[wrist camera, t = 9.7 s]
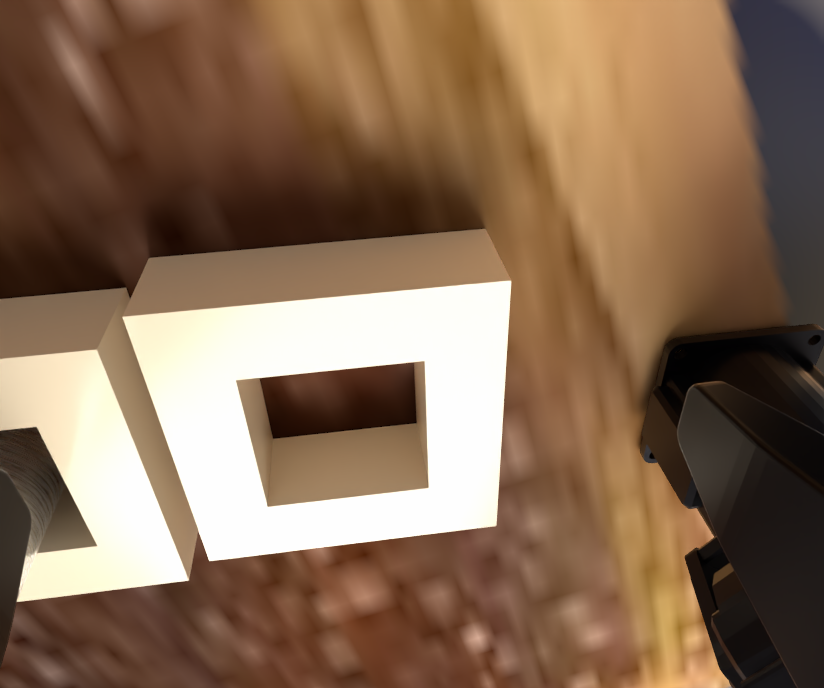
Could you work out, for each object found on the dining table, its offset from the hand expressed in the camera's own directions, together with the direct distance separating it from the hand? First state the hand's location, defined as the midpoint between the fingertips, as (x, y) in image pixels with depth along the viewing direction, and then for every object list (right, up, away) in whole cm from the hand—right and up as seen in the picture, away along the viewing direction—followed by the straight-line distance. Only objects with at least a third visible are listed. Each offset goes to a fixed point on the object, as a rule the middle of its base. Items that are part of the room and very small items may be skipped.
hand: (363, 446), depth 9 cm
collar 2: (-2, 0, +16) cm, 16 cm away
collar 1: (-14, -2, +15) cm, 21 cm away
